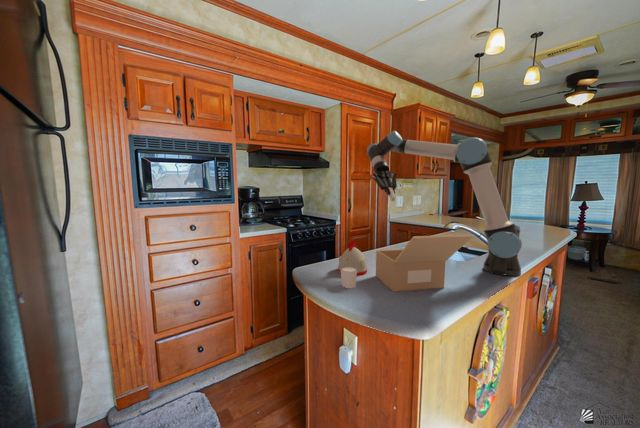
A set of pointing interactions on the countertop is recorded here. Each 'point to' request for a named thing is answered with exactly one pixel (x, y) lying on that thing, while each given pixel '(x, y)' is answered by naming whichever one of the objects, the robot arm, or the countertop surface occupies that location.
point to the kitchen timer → (353, 259)
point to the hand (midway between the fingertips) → (393, 199)
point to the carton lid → (432, 248)
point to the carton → (408, 272)
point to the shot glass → (348, 277)
